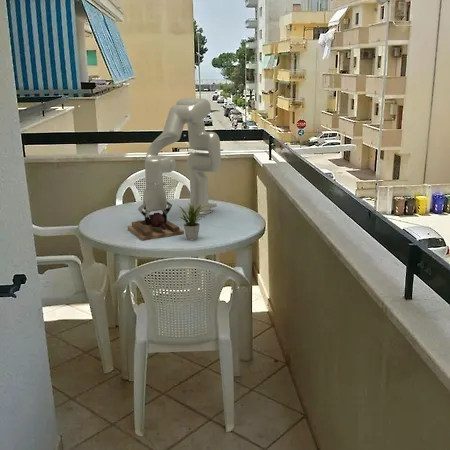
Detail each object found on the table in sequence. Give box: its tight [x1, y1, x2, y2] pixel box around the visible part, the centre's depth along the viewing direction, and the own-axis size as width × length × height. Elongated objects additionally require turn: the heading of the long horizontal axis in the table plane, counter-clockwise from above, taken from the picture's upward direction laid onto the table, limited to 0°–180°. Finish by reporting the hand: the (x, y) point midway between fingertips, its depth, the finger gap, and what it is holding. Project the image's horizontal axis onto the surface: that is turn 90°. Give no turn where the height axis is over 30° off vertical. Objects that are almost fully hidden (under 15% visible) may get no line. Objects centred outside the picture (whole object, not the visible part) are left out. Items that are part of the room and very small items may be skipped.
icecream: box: [148, 212, 166, 230], centre depth 232 cm, size 7×7×15 cm
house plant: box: [178, 203, 206, 240], centre depth 223 cm, size 14×14×16 cm
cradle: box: [127, 219, 185, 242], centre depth 234 cm, size 20×20×4 cm
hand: (156, 223), depth 233 cm, fingers closed on icecream, 7 cm apart
